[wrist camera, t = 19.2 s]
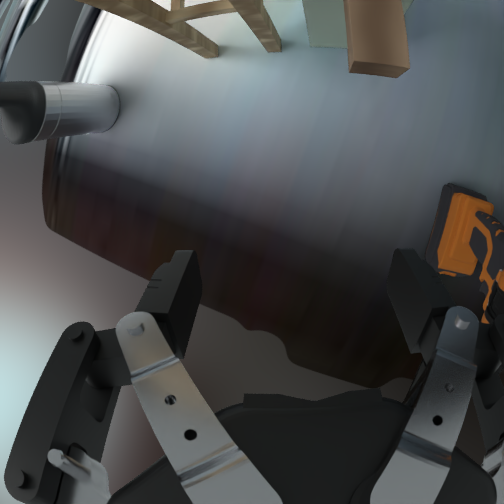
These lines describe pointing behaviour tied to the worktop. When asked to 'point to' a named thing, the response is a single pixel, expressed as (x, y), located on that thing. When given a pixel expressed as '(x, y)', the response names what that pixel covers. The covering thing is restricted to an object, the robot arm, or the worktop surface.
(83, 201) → the worktop surface
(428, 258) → the power drill
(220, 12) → the stool
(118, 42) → the worktop surface
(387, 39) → the tan cardboard block
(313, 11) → the pale green block
